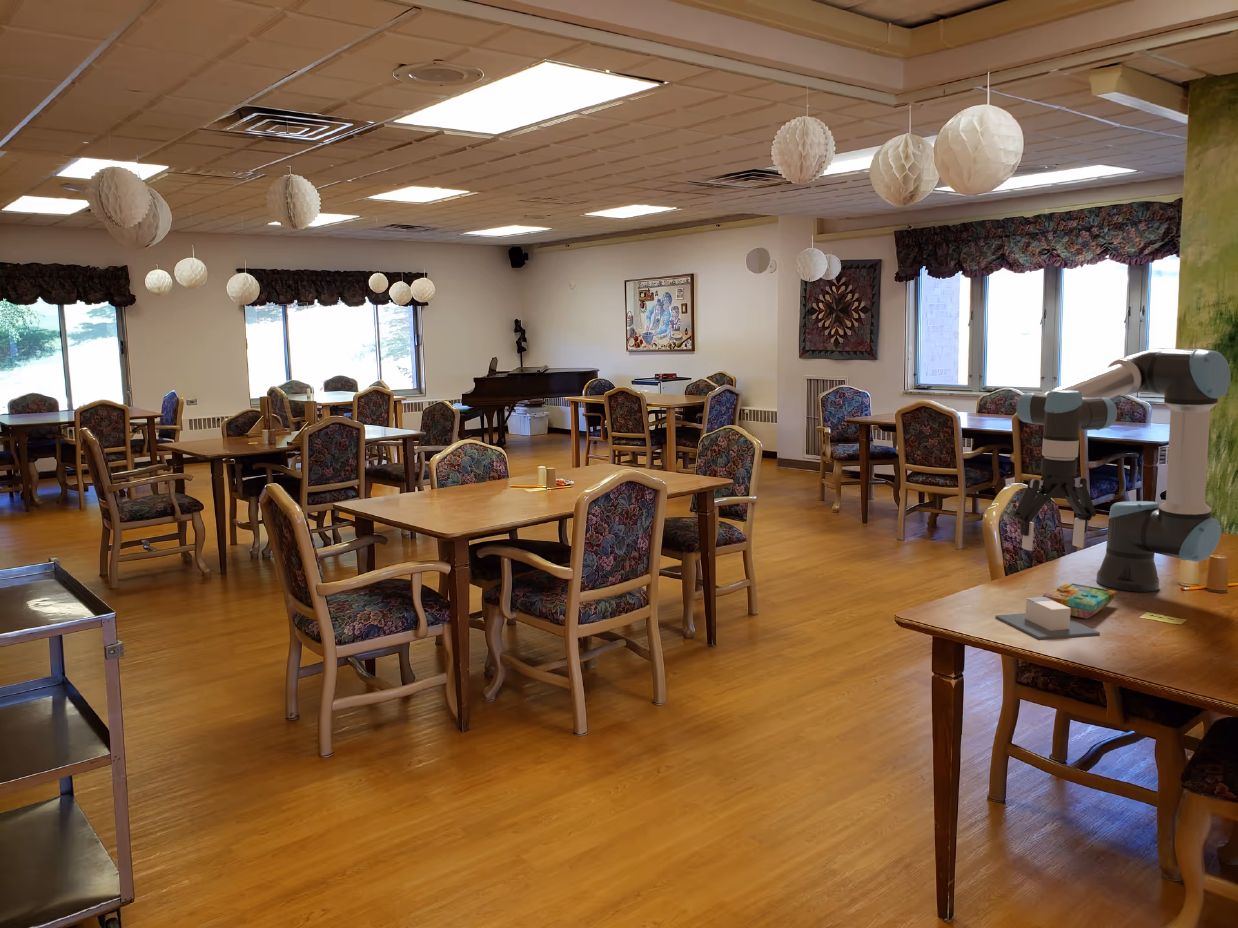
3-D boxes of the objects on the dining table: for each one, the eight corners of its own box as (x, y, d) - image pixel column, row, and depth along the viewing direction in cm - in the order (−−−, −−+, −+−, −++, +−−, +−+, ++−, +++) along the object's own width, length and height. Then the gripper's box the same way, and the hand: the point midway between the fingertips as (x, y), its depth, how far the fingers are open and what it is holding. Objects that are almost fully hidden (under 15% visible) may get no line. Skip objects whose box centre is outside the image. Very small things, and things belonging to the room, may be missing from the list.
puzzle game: (1042, 591, 230) (1068, 579, 245) (1041, 610, 230) (1066, 596, 245) (1094, 601, 222) (1117, 588, 237) (1092, 620, 223) (1115, 606, 238)
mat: (1052, 613, 230) (1053, 611, 230) (1099, 634, 215) (1099, 632, 215) (995, 617, 227) (995, 615, 227) (1038, 639, 211) (1038, 636, 211)
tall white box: (1069, 628, 217) (1071, 607, 216) (1050, 630, 216) (1052, 609, 215) (1043, 617, 225) (1044, 596, 225) (1024, 618, 224) (1026, 598, 223)
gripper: (1094, 454, 221) (1087, 541, 225) (1001, 456, 216) (995, 546, 219) (1117, 458, 214) (1109, 548, 217) (1022, 461, 209) (1015, 554, 212)
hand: (1052, 547), depth 218 cm, fingers open, 13 cm apart
